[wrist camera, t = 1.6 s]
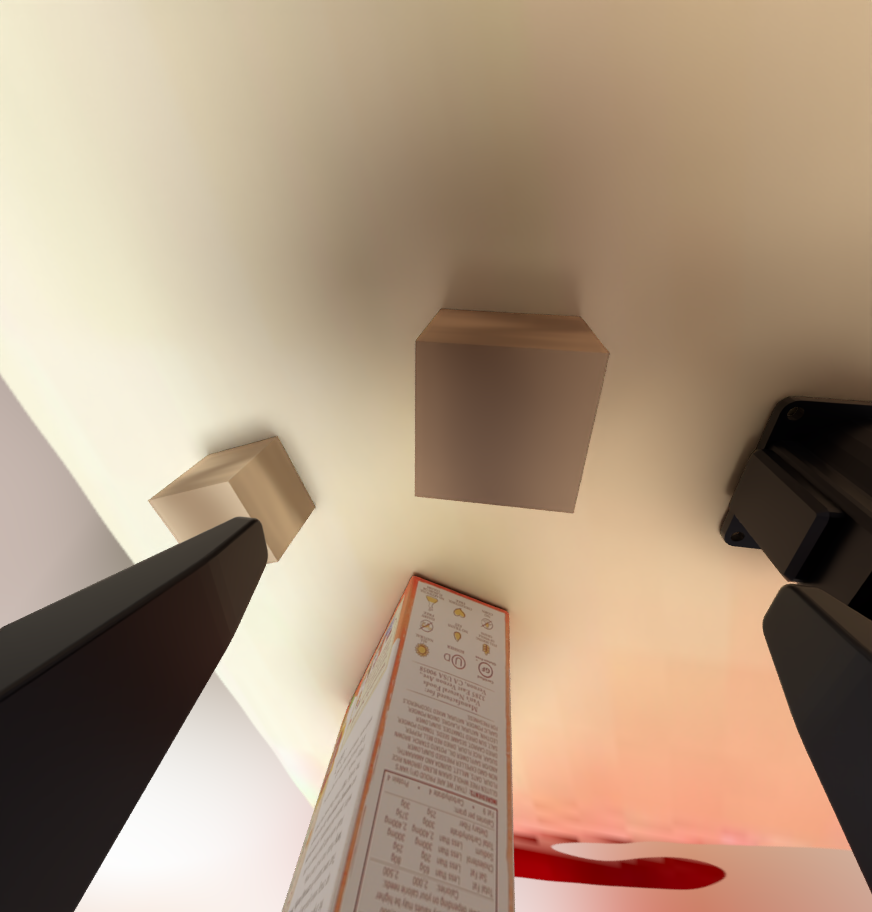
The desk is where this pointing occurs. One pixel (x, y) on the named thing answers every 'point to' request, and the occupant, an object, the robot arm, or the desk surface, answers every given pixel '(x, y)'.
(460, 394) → the walnut cube
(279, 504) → the oak block
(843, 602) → the robot arm
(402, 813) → the cracker box
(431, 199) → the desk surface
